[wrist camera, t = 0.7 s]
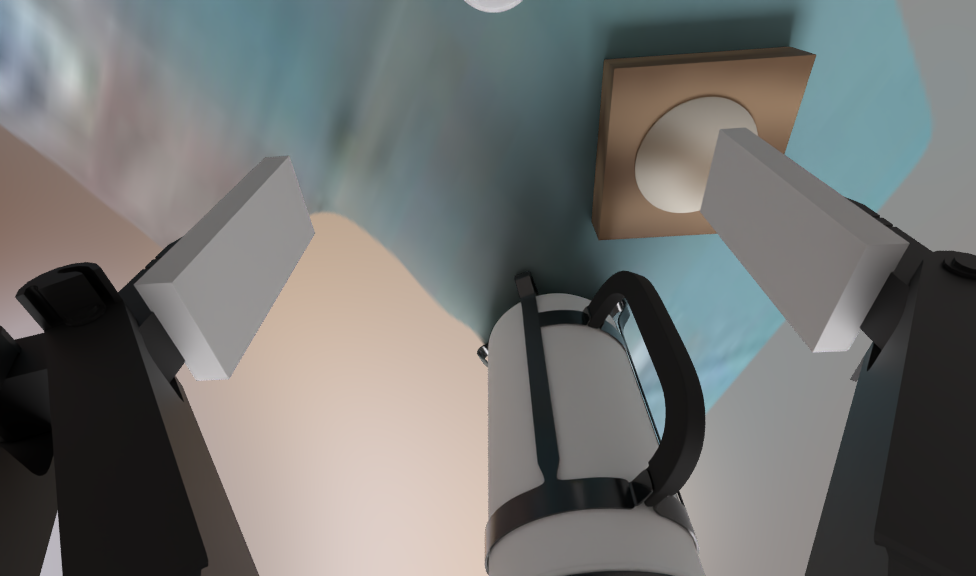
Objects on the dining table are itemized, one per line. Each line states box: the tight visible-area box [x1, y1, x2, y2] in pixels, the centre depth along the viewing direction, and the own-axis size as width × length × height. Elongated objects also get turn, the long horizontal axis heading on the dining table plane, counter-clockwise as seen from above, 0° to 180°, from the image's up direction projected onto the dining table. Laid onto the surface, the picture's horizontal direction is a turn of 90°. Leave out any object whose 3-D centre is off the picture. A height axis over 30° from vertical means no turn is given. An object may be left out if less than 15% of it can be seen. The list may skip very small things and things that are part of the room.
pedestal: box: [591, 47, 816, 240], centre depth 32 cm, size 12×12×3 cm
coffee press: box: [477, 271, 705, 576], centre depth 31 cm, size 17×16×30 cm
